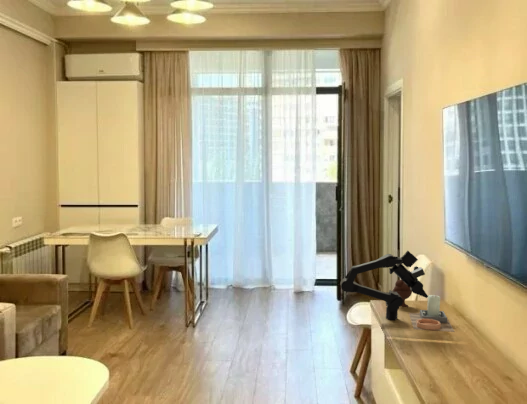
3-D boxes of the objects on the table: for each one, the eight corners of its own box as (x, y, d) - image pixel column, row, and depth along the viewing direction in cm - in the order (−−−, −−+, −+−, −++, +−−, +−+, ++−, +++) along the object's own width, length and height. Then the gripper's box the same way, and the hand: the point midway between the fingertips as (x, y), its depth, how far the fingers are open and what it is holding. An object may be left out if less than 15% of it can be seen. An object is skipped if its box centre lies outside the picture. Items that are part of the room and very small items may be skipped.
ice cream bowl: (392, 309, 325) (391, 281, 324) (394, 304, 335) (392, 278, 335) (412, 309, 321) (411, 281, 321) (413, 304, 332) (412, 277, 331)
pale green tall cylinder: (426, 315, 307) (427, 293, 306) (438, 316, 307) (439, 294, 305) (427, 318, 301) (428, 296, 300) (439, 319, 301) (441, 297, 300)
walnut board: (408, 314, 314) (408, 312, 314) (445, 316, 311) (445, 314, 311) (413, 331, 286) (413, 329, 286) (454, 333, 283) (454, 331, 283)
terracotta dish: (415, 321, 298) (415, 318, 297) (438, 323, 296) (438, 319, 296) (417, 328, 287) (418, 324, 287) (441, 330, 285) (441, 326, 285)
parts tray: (419, 314, 311) (419, 309, 311) (443, 316, 309) (443, 311, 309) (422, 321, 299) (422, 316, 299) (446, 322, 297) (447, 317, 297)
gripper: (418, 266, 291) (441, 288, 291) (411, 259, 309) (432, 279, 309) (402, 282, 292) (425, 304, 292) (396, 274, 310) (417, 294, 311)
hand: (425, 294), depth 301 cm, fingers open, 9 cm apart
